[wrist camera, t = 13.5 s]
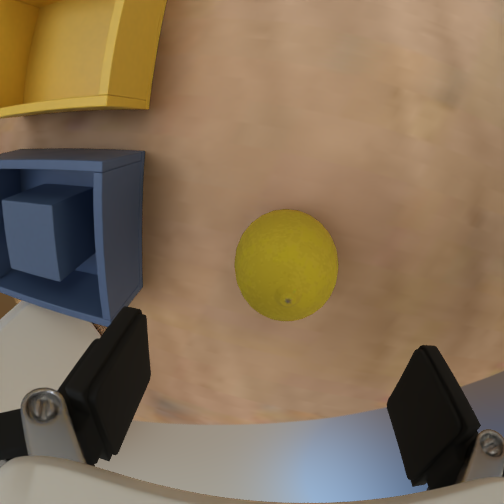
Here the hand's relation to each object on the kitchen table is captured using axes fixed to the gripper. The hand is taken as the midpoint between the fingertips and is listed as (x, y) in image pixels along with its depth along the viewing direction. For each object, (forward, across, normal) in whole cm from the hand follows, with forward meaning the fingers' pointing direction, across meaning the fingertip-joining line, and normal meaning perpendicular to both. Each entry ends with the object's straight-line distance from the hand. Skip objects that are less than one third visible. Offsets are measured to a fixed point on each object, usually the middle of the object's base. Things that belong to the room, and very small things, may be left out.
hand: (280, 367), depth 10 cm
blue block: (+11, +16, 0) cm, 19 cm away
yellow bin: (+12, +16, -13) cm, 23 cm away
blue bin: (+12, +16, 0) cm, 20 cm away
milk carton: (+12, +19, +10) cm, 25 cm away
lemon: (+12, 0, 0) cm, 12 cm away
